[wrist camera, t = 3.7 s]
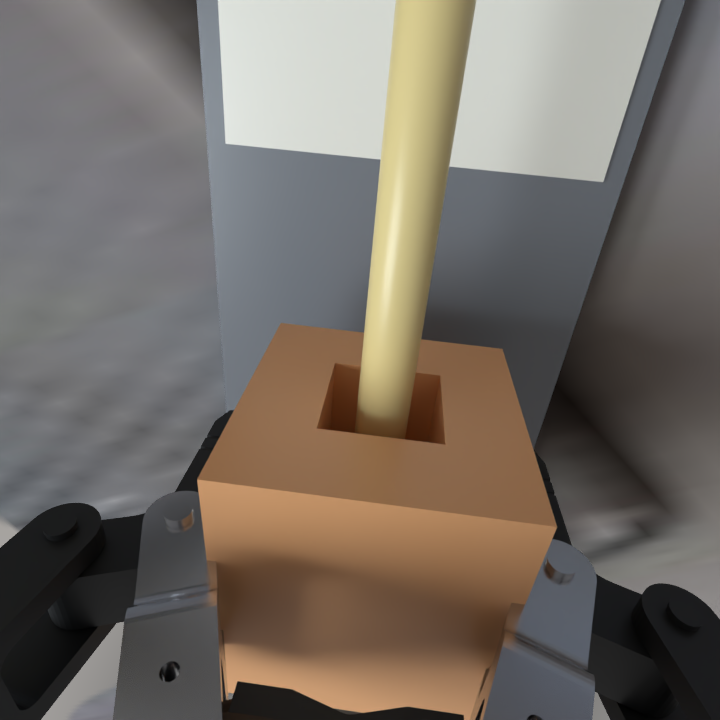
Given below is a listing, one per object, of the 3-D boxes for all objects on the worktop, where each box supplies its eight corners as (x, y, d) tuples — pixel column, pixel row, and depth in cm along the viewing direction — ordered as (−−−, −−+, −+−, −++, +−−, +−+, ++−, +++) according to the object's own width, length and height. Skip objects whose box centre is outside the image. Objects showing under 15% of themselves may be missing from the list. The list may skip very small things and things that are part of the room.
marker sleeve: (281, 323, 12) (197, 479, 7) (502, 348, 11) (556, 527, 7) (281, 503, 15) (222, 691, 10) (455, 526, 15) (473, 729, 10)
